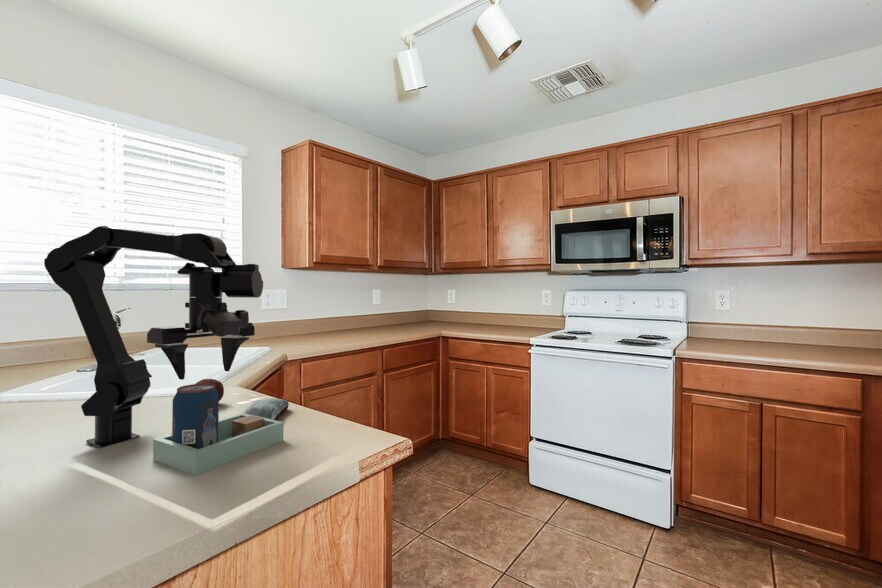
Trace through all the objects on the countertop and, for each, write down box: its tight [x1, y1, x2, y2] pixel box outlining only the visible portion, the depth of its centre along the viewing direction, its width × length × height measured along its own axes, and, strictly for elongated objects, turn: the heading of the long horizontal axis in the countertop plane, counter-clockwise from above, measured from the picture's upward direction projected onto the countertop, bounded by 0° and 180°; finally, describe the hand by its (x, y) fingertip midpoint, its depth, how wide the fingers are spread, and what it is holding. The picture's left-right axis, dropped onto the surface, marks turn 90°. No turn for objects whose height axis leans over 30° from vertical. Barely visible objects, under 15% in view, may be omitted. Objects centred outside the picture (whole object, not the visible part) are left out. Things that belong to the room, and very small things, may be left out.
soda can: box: [171, 383, 220, 449], centre depth 70 cm, size 7×7×12 cm
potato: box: [195, 378, 225, 402], centre depth 104 cm, size 7×8×7 cm
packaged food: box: [240, 397, 290, 421], centre depth 92 cm, size 9×12×5 cm
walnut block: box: [232, 415, 264, 438], centre depth 77 cm, size 4×4×4 cm
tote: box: [152, 412, 284, 476], centre depth 73 cm, size 12×17×4 cm
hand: (205, 375), depth 80 cm, fingers open, 9 cm apart
